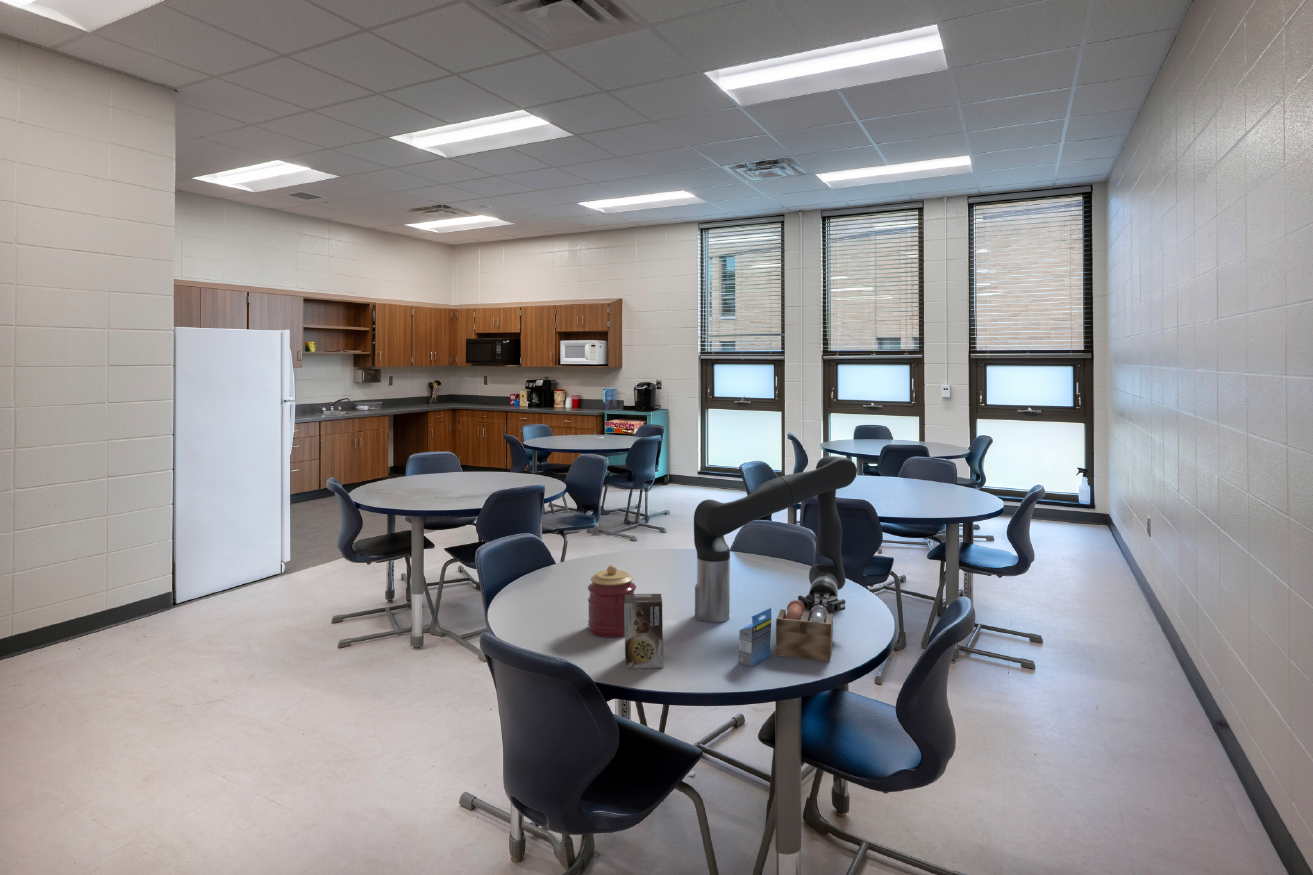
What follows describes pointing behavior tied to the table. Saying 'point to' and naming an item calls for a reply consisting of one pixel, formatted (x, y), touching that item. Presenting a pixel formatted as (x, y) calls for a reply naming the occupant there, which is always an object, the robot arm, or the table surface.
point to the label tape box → (755, 639)
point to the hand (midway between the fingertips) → (819, 613)
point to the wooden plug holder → (804, 637)
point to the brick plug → (795, 610)
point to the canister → (608, 602)
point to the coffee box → (643, 631)
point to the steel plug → (818, 614)
